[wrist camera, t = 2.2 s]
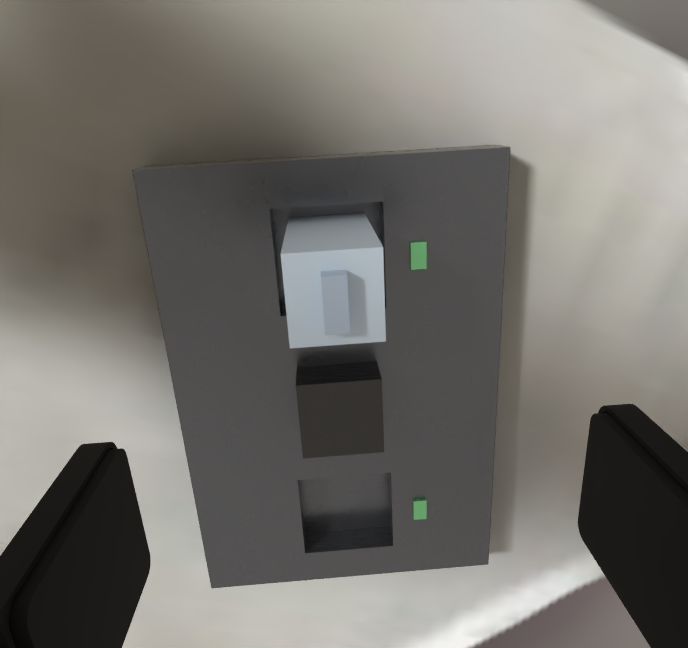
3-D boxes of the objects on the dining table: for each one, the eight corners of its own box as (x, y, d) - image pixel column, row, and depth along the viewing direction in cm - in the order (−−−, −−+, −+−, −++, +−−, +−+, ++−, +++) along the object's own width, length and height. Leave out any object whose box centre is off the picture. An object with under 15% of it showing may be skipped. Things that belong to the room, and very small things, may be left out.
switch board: (145, 166, 28) (116, 175, 23) (495, 144, 28) (527, 149, 24) (217, 562, 37) (205, 617, 33) (478, 539, 37) (499, 591, 33)
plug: (288, 217, 28) (279, 258, 20) (364, 213, 29) (385, 251, 20) (295, 290, 30) (289, 356, 22) (367, 285, 30) (388, 349, 22)
